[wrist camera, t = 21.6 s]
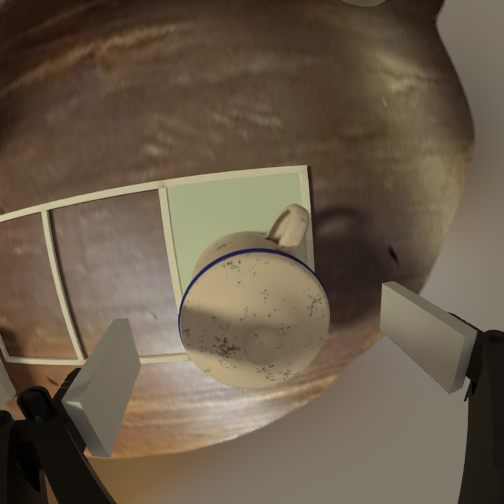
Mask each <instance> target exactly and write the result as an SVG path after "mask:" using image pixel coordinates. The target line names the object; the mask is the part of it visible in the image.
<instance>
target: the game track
mask: <svg viewBox="0 0 504 504" xmlns="http://www.w3.org/2000/svg"><path fill="white" fill-rule="evenodd" d="M152 189H159V197H160V205H161V213H162V220H163V227H164V234H165V241H166V248H167V254H168V260H169V266H170V272H171V278H172V283H173V289H174V294H175V300H176V305H177V310H178V315H179V308H180V304H181V301H182V298H183V296H184V293H185V291H186V289H187V287H188V286H189V284H190V282H191V278H192V274H193V270H194V267H195V264H196V262H197V260H198V258H199V256H200V255H201V253H202V252H203V251H204V250H205V249H206V248H207V247H208V246H209V245H210V244H211V243H212V242H214V241H215V240H217V239H219V238H220V237H223V236H225V235H228V234H231V233H236V232H253V233H258V234H261V235H264V236H266V235H267V233H268V231H269V229H270V227H271V226H272V224H273V222H274V221H275V219H276V218H277V216H278V215H279V214H280V212H281V211H282V210H283V209H284V208H286V207H287V206H289V205H291V204H298V205H300V206H302V207H304V208H305V209H306V210H307V211H308V213H309V224H308V228H307V231H306V234H305V237H304V239H303V241H302V243H301V245H300V247H299V249H298V251H297V253H296V255H295V258H297V259H299V260H301V261H302V262H303V263H305V264H306V265H307V266H308V267H309V268H311V269H312V271H313V272H314V253H313V236H312V221H311V208H310V195H309V184H308V173H307V165H303V166H287V167H274V168H262V169H251V170H240V171H231V172H222V173H213V174H205V175H197V176H189V177H182V178H175V179H168V180H162V181H155V182H149V183H143V184H137V185H131V186H126V187H120V188H115V189H110V190H104V191H99V192H94V193H90V194H85V195H80V196H75V197H71V198H67V199H62V200H58V201H54V202H49V203H45V204H41V205H37V206H33V207H30V208H26V209H22V210H18V211H15V212H11V213H8V214H4V215H1V216H0V222H2V221H5V220H9V219H13V218H17V217H20V216H24V215H28V214H32V213H36V212H42V219H43V226H44V232H45V238H46V244H47V249H48V254H49V259H50V264H51V268H52V273H53V277H54V281H55V285H56V289H57V293H58V297H59V300H60V304H61V308H62V311H63V314H64V318H65V321H66V324H67V327H68V330H69V333H70V336H71V339H72V342H73V345H74V348H75V351H76V354H77V356H78V358H36V357H15V356H9V355H8V352H7V350H6V347H5V345H4V342H3V340H2V337H1V334H0V348H1V351H2V353H3V356H4V358H5V360H6V362H14V363H29V364H52V365H84V364H85V362H86V361H87V359H88V358H85V357H84V354H83V351H82V348H81V345H80V343H79V340H78V337H77V334H76V330H75V327H74V324H73V321H72V318H71V314H70V311H69V307H68V304H67V300H66V296H65V292H64V289H63V285H62V280H61V276H60V272H59V267H58V263H57V258H56V253H55V248H54V242H53V237H52V231H51V225H50V218H49V211H48V210H49V209H53V208H58V207H62V206H67V205H72V204H76V203H81V202H86V201H91V200H96V199H101V198H106V197H112V196H117V195H123V194H128V193H134V192H140V191H146V190H152ZM139 360H140V363H141V364H142V363H159V362H173V361H185V360H192V359H191V358H190V357H189V355H188V353H178V354H166V355H152V356H139Z"/></svg>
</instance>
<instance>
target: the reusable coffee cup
mask: <svg viewBox="0 0 504 504" xmlns="http://www.w3.org/2000/svg"><path fill="white" fill-rule="evenodd" d="M341 1H344V2H346V3H348V4H352V5H355V6H361V7H373V6H377V5H379V4H380V3H382V2H384V1H385V0H341Z"/></svg>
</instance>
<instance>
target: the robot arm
mask: <svg viewBox="0 0 504 504" xmlns="http://www.w3.org/2000/svg"><path fill="white" fill-rule="evenodd" d="M380 330H381V331H382V332H383V333H384V334H385V335H386V336H388V337H389V338H390V339H391V340H392V341H393V342H394V343H395V344H396V345H397V346H398V347H400V348H401V349H402V350H403V351H404V352H405V353H406V354H407V355H408V356H409V357H410V358H411V359H413V360H414V361H415V362H416V363H417V364H418V365H419V366H420V367H421V368H422V369H423V370H424V371H425V372H427V374H429V375H430V376H431V377H432V378H433V379H434V380H435V381H436V382H437V383H438V384H439V385H440V386H441V387H442V388H443V389H444V390H445V391H447V392H448V393H449V394H451V393H453V392H455V391H457V390H459V389H461V388H462V386H463V383H464V380H465V377H466V376H467V377H468V378H469V379H470V380H471V381H470V384H469V387H468V390H467V393H466V396H465V399H464V401H466V400H467V398H468V397H469V403H468V405H469V406H468V430H467V445H466V454H465V464H464V471H463V477H462V484H461V490H460V495H459V500H458V504H504V332H502V331H499V330H489V331H486V332H485V333H484V332H483V331H481V330H479V329H478V328H476V327H474V326H473V325H471V324H469V323H467V322H466V321H465V320H463V319H461V318H460V317H458V316H456V315H455V314H452V313H449V312H446V311H444V310H442V309H441V308H439V307H437V306H435V305H434V304H432V303H431V302H429V301H427V300H426V299H424V298H422V297H421V296H419V295H417V294H415V293H414V292H412V291H410V290H409V289H407V288H405V287H403V286H402V285H400V284H398V283H396V282H395V281H392V282H386V283H382V299H381V316H380ZM140 367H141V363H140V360H139V356H138V353H137V350H136V346H135V343H134V339H133V336H132V332H131V328H130V325H129V321H128V319H116V320H114V321H113V322H112V323H111V325H110V326H109V328H108V329H107V331H106V332H105V334H104V335H103V337H102V338H101V340H100V341H99V342H98V344H97V345H96V347H95V348H94V350H93V351H92V353H91V354H90V356H89V357H88V359H87V361H86V362H85V364H84V365H83V367H82V368H76V369H75V370H73V371H72V372H71V373H70V374H69V375H68V376H67V378H66V379H65V381H64V383H63V384H62V385H61V387H60V388H59V390H58V391H57V393H56V394H55V396H54V397H53V399H52V398H51V396H50V394H49V392H48V390H47V389H46V388H44V387H41V386H35V387H31V388H28V389H26V390H24V391H23V392H22V393H21V394H20V395H19V396H18V398H17V404H18V406H19V408H20V409H21V411H22V413H23V415H24V416H25V418H26V420H16V421H14V419H13V417H12V416H11V414H10V413H9V412H8V411H5V410H0V504H48V498H47V490H46V482H45V474H46V477H47V479H48V481H49V484H50V486H51V488H52V491H53V493H54V495H55V497H56V499H57V501H58V503H59V504H117V503H116V502H115V501H114V499H113V498H112V496H111V495H110V494H109V492H108V491H107V489H106V488H105V486H104V485H103V484H102V482H101V480H100V479H99V477H98V476H97V474H96V473H95V471H94V470H93V468H92V466H91V465H90V463H89V462H88V460H87V458H86V457H85V455H84V454H83V453H84V450H85V448H86V446H87V448H88V450H89V451H90V453H91V454H92V456H98V457H108V458H110V457H111V454H112V451H113V447H114V444H115V441H116V438H117V435H118V431H119V428H120V425H121V422H122V419H123V416H124V413H125V410H126V407H127V404H128V401H129V398H130V395H131V392H132V390H133V387H134V384H135V381H136V378H137V376H138V373H139V370H140Z"/></svg>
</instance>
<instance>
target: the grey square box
mask: <svg viewBox="0 0 504 504" xmlns="http://www.w3.org/2000/svg"><path fill="white" fill-rule="evenodd" d="M16 393H17V392H16V390H15V388H14V386H13V384H12V382H11V380H10V378H9V376H8V374H7V372H6V369H5V367H4V365H3V363H2V360H1V358H0V410H1V408H2V407H3V406H4V404H5V403H6V402H7V401H10V400H11V399H12V398H13V397H14V395H15V394H16Z"/></svg>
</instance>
